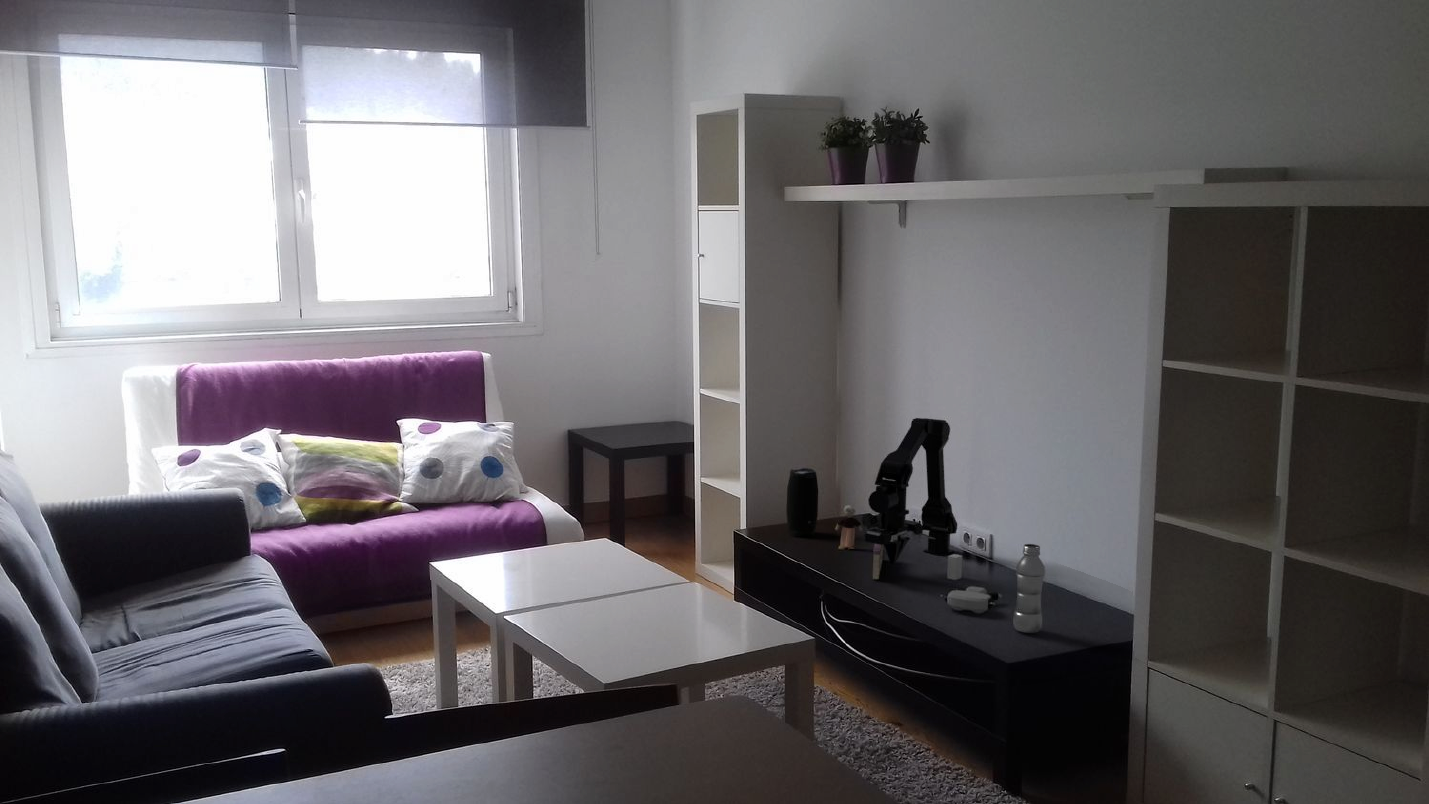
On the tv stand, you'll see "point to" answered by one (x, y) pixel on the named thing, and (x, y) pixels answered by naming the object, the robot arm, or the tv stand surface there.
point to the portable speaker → (802, 502)
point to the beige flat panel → (877, 560)
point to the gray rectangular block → (954, 567)
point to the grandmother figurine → (848, 528)
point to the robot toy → (971, 599)
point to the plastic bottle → (1029, 590)
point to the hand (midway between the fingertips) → (892, 563)
